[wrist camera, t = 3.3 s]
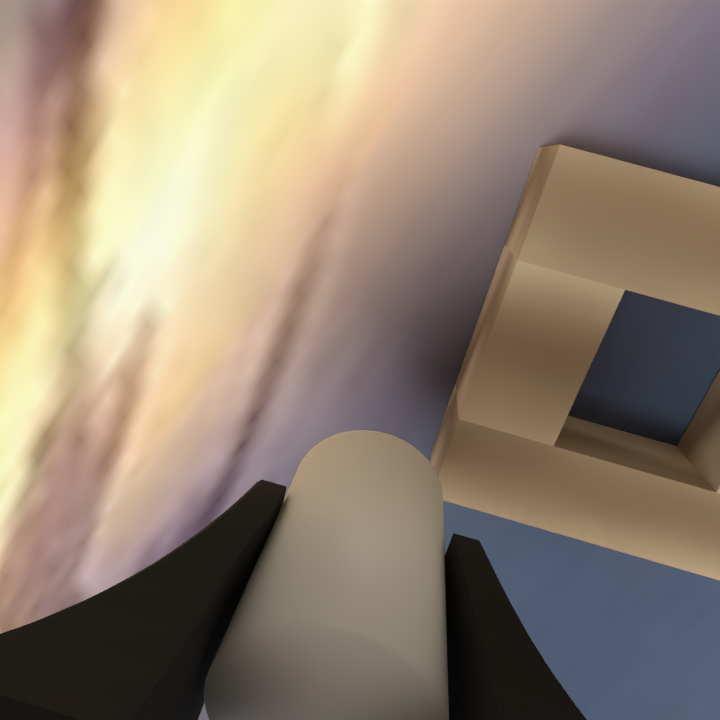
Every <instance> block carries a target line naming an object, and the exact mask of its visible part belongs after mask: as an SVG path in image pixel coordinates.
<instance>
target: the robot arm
mask: <svg viewBox="0 0 720 720" xmlns="http://www.w3.org/2000/svg"><path fill="white" fill-rule="evenodd" d="M285 492H286V486H282V485H279V484H275V483H272V482H268V481H264V480H261V481H259V482H257V483H256V484H255V485H254V486H253V487H252V488H251V489H250V490H249V491H248V492H247V493H245V494H244V495H243V496H242V497H241V498H240V499H239V500H238V501H237V502H236V503H234V504H233V505H232V506H231V507H230V508H229V509H228V510H226V511H225V512H224V513H223V514H221V515H220V516H219V517H218V518H217V519H215V520H214V521H213V522H212V523H210V524H209V525H208V526H207V527H205V528H204V529H203V530H201V531H200V532H199V533H197V534H196V535H195V536H193V537H192V538H190V539H189V540H188V541H186V542H185V543H183V544H182V545H181V546H179V547H178V548H176V549H175V550H173V551H172V552H170V553H169V554H167V555H166V556H164V557H163V558H161V559H160V560H158V561H156V562H155V563H153V564H152V565H150V566H148V567H147V568H145V569H143V570H142V571H140V572H138V573H136V574H135V575H133V576H131V577H129V578H127V579H126V580H124V581H122V582H120V583H118V584H116V585H114V586H112V587H111V588H109V589H107V590H105V591H103V592H101V593H99V594H97V595H95V596H93V597H91V598H89V599H86V600H84V601H82V602H80V603H77V604H75V605H73V606H71V607H68V608H66V609H64V610H61V611H59V612H57V613H54V614H52V615H50V616H47V617H45V618H43V619H40V620H38V621H35V622H33V623H30V624H27V625H25V626H22V627H19V628H16V629H13V630H10V631H8V632H5V633H2V634H0V720H209V718H208V715H207V712H206V707H205V703H204V687H205V680H206V677H207V674H208V671H209V669H210V667H211V664H212V662H213V660H214V658H215V655H216V653H217V651H218V649H219V646H220V644H221V642H222V639H223V637H224V635H225V633H226V630H227V628H228V626H229V624H230V621H231V619H232V617H233V614H234V612H235V610H236V608H237V605H238V603H239V601H240V599H241V596H242V594H243V592H244V590H245V587H246V585H247V583H248V580H249V578H250V576H251V574H252V571H253V569H254V567H255V565H256V562H257V560H258V558H259V555H260V553H261V551H262V549H263V547H264V544H265V542H266V540H267V538H268V536H269V534H270V532H271V529H272V527H273V525H274V523H275V520H276V518H277V516H278V514H279V511H280V509H281V507H282V504H283V501H284V496H285ZM445 589H446V626H447V663H448V700H449V720H586V718H585V717H584V716H583V714H582V713H581V712H580V711H579V709H578V708H577V707H576V705H575V704H574V703H573V701H572V700H571V698H570V697H569V696H568V694H567V693H566V691H565V690H564V689H563V687H562V686H561V684H560V683H559V682H558V680H557V679H556V677H555V676H554V675H553V673H552V672H551V670H550V669H549V667H548V666H547V664H546V663H545V661H544V660H543V658H542V656H541V655H540V653H539V651H538V650H537V648H536V647H535V645H534V643H533V642H532V640H531V639H530V637H529V635H528V633H527V632H526V630H525V628H524V626H523V625H522V623H521V621H520V619H519V617H518V616H517V614H516V612H515V610H514V608H513V607H512V605H511V603H510V601H509V599H508V597H507V595H506V593H505V592H504V590H503V588H502V586H501V584H500V582H499V580H498V578H497V576H496V574H495V572H494V570H493V568H492V566H491V563H490V561H489V559H488V557H487V555H486V553H485V551H484V549H483V547H482V545H481V543H480V542H479V540H475V539H471V538H468V537H464V536H461V535H457V534H453V536H452V539H451V541H450V544H449V547H448V549H447V552H446V554H445Z"/></svg>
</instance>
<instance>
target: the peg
mask: <svg viewBox="0 0 720 720" xmlns="http://www.w3.org/2000/svg"><path fill="white" fill-rule="evenodd" d="M204 703H205V707H206V712H207V715H208V718H209V720H449V700H448V663H447V626H446V589H445V552H444V515H443V492H442V486H441V483H440V480H439V477H438V475H437V473H436V471H435V469H434V468H433V466H432V465H431V463H430V462H429V461H428V459H427V458H426V457H425V456H424V455H423V454H422V453H421V452H420V451H419V450H417V449H416V448H415V447H413V446H412V445H410V444H409V443H407V442H406V441H404V440H402V439H400V438H398V437H395V436H392V435H390V434H386V433H382V432H377V431H370V430H355V431H347V432H343V433H339V434H336V435H333V436H330V437H328V438H326V439H325V440H323V441H321V442H320V443H318V444H317V445H315V446H314V447H313V448H312V449H311V450H310V451H309V452H308V453H307V454H306V456H305V457H304V458H303V460H302V461H301V463H300V465H299V467H298V469H297V471H296V474H295V476H294V478H293V481H292V483H291V485H290V487H289V490H288V492H287V494H286V496H285V499H284V501H283V504H282V507H281V509H280V511H279V514H278V516H277V518H276V520H275V523H274V525H273V527H272V529H271V532H270V534H269V536H268V538H267V540H266V542H265V544H264V547H263V549H262V551H261V553H260V555H259V558H258V560H257V562H256V565H255V567H254V569H253V571H252V574H251V576H250V578H249V580H248V583H247V585H246V587H245V590H244V592H243V594H242V596H241V599H240V601H239V603H238V605H237V608H236V610H235V612H234V614H233V617H232V619H231V621H230V624H229V626H228V628H227V630H226V633H225V635H224V637H223V639H222V642H221V644H220V646H219V649H218V651H217V653H216V655H215V658H214V660H213V662H212V664H211V667H210V669H209V671H208V674H207V677H206V680H205V687H204Z"/></svg>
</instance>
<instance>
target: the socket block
mask: <svg viewBox="0 0 720 720" xmlns="http://www.w3.org/2000/svg"><path fill="white" fill-rule="evenodd" d="M625 290H628V291H632V292H635V293H639V294H642V295H646V296H650V297H653V298H657V299H661V300H664V301H668V302H672V303H675V304H679V305H682V306H686V307H690V308H693V309H697V310H701V311H704V312H708V313H712V314H715V315H719V316H720V187H718V186H714V185H710V184H707V183H703V182H699V181H695V180H692V179H688V178H684V177H680V176H677V175H673V174H669V173H665V172H662V171H658V170H654V169H650V168H647V167H643V166H639V165H636V164H632V163H628V162H624V161H621V160H617V159H613V158H609V157H606V156H602V155H598V154H594V153H591V152H587V151H583V150H579V149H576V148H572V147H568V146H565V145H561V144H558V145H550V146H542V147H539V149H538V152H537V154H536V157H535V160H534V163H533V166H532V168H531V171H530V174H529V177H528V180H527V183H526V185H525V188H524V191H523V194H522V197H521V200H520V202H519V205H518V208H517V211H516V214H515V217H514V219H513V222H512V225H511V228H510V231H509V233H508V236H507V239H506V242H505V245H504V248H503V250H502V253H501V256H500V259H499V262H498V265H497V267H496V270H495V273H494V276H493V279H492V281H491V284H490V287H489V290H488V293H487V296H486V298H485V301H484V304H483V307H482V310H481V313H480V315H479V318H478V321H477V324H476V327H475V330H474V332H473V335H472V338H471V341H470V344H469V346H468V349H467V352H466V355H465V358H464V361H463V363H462V366H461V369H460V372H459V375H458V378H457V380H456V383H455V386H454V389H453V392H452V394H451V397H450V400H449V403H448V406H447V409H446V411H445V414H444V417H443V420H442V423H441V426H440V428H439V431H438V434H437V437H436V440H435V443H434V445H433V448H432V451H431V465H432V466H433V468H434V469H435V471H436V473H437V475H438V477H439V480H440V483H441V486H442V492H443V500H444V501H447V502H451V503H454V504H458V505H461V506H465V507H468V508H471V509H475V510H478V511H482V512H485V513H489V514H492V515H496V516H499V517H503V518H506V519H509V520H513V521H516V522H520V523H523V524H527V525H530V526H534V527H537V528H540V529H544V530H547V531H551V532H554V533H558V534H561V535H565V536H568V537H571V538H575V539H578V540H582V541H585V542H589V543H592V544H596V545H599V546H602V547H606V548H609V549H613V550H616V551H620V552H623V553H627V554H630V555H634V556H637V557H640V558H644V559H647V560H651V561H654V562H658V563H661V564H665V565H668V566H671V567H675V568H678V569H682V570H685V571H689V572H692V573H696V574H699V575H702V576H706V577H709V578H713V579H716V580H720V370H719V372H718V374H717V376H716V378H715V379H714V381H713V383H712V385H711V386H710V388H709V390H708V392H707V393H706V395H705V397H704V399H703V401H702V402H701V404H700V406H699V408H698V409H697V411H696V413H695V415H694V416H693V418H692V420H691V422H690V424H689V425H688V427H687V429H686V431H685V432H684V434H683V436H682V438H681V440H680V441H679V443H678V445H677V446H674V445H671V444H667V443H664V442H660V441H657V440H653V439H649V438H646V437H642V436H639V435H635V434H632V433H628V432H625V431H621V430H618V429H614V428H611V427H607V426H604V425H600V424H596V423H593V422H589V421H586V420H582V419H579V418H575V417H572V416H568V414H569V411H570V409H571V407H572V405H573V403H574V400H575V398H576V396H577V394H578V392H579V390H580V387H581V385H582V383H583V381H584V379H585V376H586V374H587V372H588V370H589V368H590V366H591V363H592V361H593V359H594V357H595V355H596V352H597V350H598V348H599V346H600V344H601V342H602V339H603V337H604V335H605V333H606V331H607V328H608V326H609V324H610V322H611V320H612V318H613V315H614V313H615V311H616V309H617V307H618V304H619V302H620V300H621V298H622V296H623V294H624V291H625Z"/></svg>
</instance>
